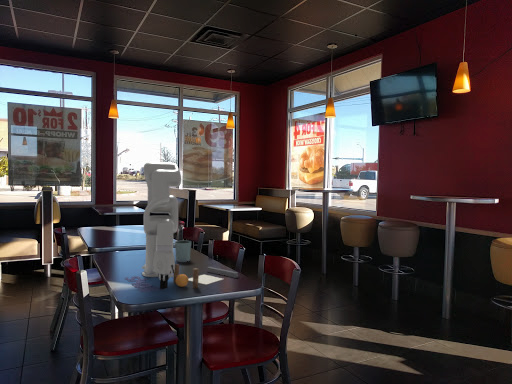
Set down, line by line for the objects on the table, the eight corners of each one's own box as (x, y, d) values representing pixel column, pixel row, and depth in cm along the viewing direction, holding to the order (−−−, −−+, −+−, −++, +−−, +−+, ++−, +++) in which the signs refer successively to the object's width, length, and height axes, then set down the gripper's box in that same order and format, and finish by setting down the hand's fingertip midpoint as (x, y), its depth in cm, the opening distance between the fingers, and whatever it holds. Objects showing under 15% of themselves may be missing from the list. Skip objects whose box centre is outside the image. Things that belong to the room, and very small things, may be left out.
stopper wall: (207, 271, 216) (207, 267, 216) (209, 271, 218) (209, 266, 217) (235, 277, 205) (235, 273, 205) (237, 277, 206) (237, 272, 206)
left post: (172, 282, 191) (172, 264, 191) (176, 281, 193) (176, 264, 193) (176, 283, 190) (176, 265, 190) (179, 282, 192) (180, 264, 192)
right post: (191, 287, 184) (192, 269, 184) (195, 286, 186) (195, 268, 186) (195, 288, 182) (196, 269, 182) (199, 287, 185) (199, 268, 184)
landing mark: (185, 279, 198) (185, 279, 198) (203, 274, 209) (203, 274, 209) (206, 284, 190) (206, 284, 190) (223, 279, 201) (224, 278, 201)
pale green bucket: (192, 259, 248) (193, 240, 247) (188, 262, 238) (188, 243, 237) (177, 258, 249) (177, 240, 248) (172, 261, 239) (172, 242, 238)
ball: (183, 282, 190) (175, 288, 185) (179, 271, 188) (171, 277, 184) (192, 283, 187) (184, 289, 182) (188, 272, 185) (180, 278, 180)
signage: (123, 277, 197) (142, 275, 203) (123, 278, 197) (142, 276, 203) (140, 291, 174) (161, 288, 180) (140, 293, 174) (161, 290, 180)
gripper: (147, 247, 177) (146, 287, 177) (170, 251, 168) (169, 293, 169) (159, 245, 183) (158, 283, 184) (182, 249, 175) (181, 289, 175)
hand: (163, 288), depth 176 cm, fingers closed
